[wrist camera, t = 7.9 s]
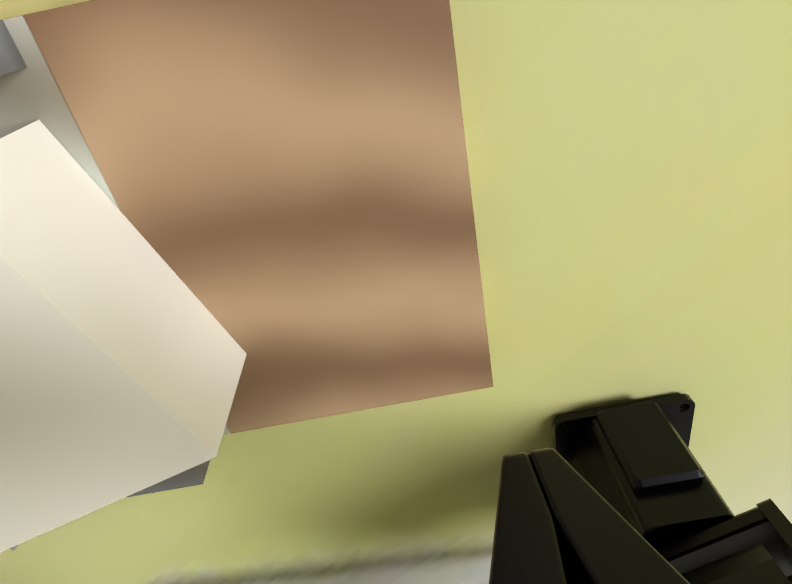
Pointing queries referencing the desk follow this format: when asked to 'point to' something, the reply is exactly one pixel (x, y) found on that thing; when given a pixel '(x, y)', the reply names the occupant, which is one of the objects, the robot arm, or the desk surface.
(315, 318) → the display board
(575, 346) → the desk surface
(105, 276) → the carton
